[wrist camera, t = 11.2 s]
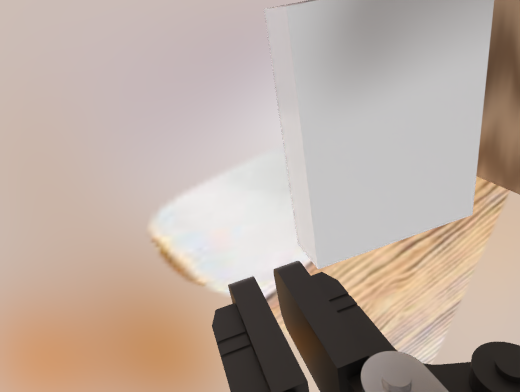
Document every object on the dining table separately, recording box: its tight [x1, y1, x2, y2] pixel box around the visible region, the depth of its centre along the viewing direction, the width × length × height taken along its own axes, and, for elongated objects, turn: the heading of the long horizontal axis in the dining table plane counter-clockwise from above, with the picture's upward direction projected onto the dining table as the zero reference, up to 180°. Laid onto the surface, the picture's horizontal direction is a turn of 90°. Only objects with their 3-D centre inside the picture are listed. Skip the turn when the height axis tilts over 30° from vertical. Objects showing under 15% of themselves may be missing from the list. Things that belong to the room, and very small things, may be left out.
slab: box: [264, 0, 494, 269], centre depth 22 cm, size 14×11×3 cm
